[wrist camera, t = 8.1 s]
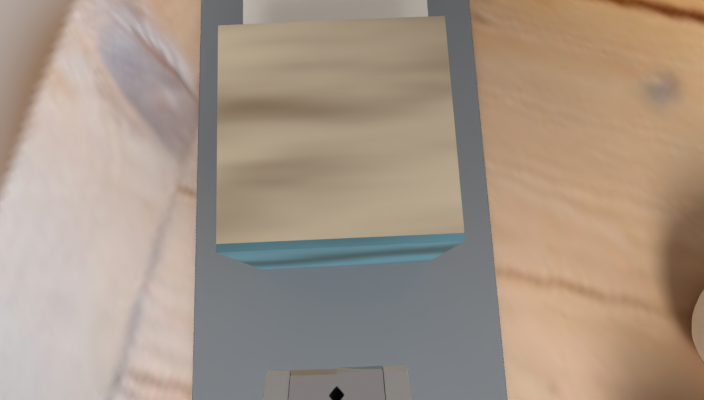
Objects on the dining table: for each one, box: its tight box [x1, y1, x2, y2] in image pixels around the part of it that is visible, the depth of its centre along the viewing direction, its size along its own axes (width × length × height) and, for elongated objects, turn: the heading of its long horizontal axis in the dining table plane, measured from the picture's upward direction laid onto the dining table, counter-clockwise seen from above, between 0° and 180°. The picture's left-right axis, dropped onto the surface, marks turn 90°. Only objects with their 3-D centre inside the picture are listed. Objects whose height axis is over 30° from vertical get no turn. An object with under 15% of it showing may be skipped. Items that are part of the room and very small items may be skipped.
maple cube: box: [216, 16, 465, 269], centre depth 24 cm, size 9×9×9 cm
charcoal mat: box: [192, 0, 508, 400], centre depth 28 cm, size 32×16×1 cm, turn 2°
